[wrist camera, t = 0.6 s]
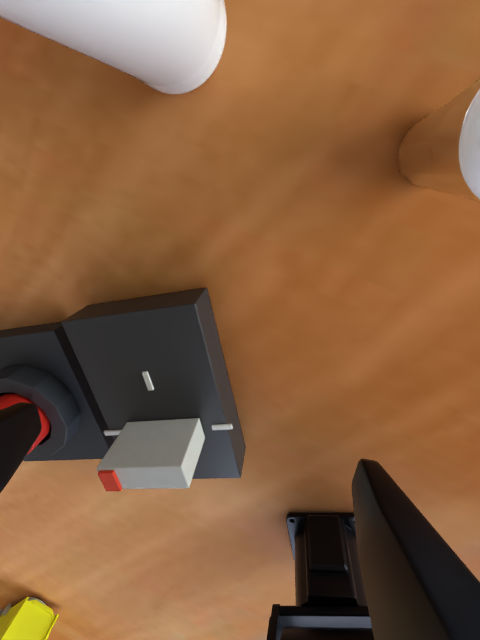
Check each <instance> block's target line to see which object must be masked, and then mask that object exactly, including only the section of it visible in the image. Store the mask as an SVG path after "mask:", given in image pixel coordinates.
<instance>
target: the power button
mask: <svg viewBox="0 0 480 640" xmlns="http://www.w3.org/2000/svg"><path fill="white" fill-rule="evenodd" d="M19 402H26V403H32V404H35V403H34V402H32V401H31V400H30V399H29V398H26V397H24V396H21V395H18V394H13V393H11V394H4V395H2V396H0V410H1V409H4V408H6V407H9V406H11V405H14V404H16V403H19ZM35 405H36V404H35ZM36 406H37V405H36ZM37 408H38V411H39V416H40V420H41V424H42V429H41V432H40V435H39V436H38V438H37V439H36V441H35V442H34V444H33V445H32V447H31V449H30V450H29V452H28V453H27V454H29V453H30V452H31V451H32V450H33V449H34V448H35V447H36V446H37V445H38V444H39V443H40V442H41V441H42V440H43V439H44V438H45V436H46V435H47V434H48V433H49V430H50V422H49V420H48V418H47V416H46V414H45V412H44V411H43V410H42V409H41V408H40V407H38V406H37Z"/></svg>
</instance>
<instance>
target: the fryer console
mask: <svg viewBox="0 0 480 640" xmlns="http://www.w3.org/2000/svg"><path fill="white" fill-rule="evenodd" d="M61 323H62V325H63V327H64V330H65V332H66V334H67V336H68V339H69V341H70V343H71V345H72V348H73V350H74V352H75V354H76V356H77V359H78V361H79V363H80V365H81V368H82V370H83V372H84V374H85V376H86V379H87V381H88V383H89V385H90V388H91V390H92V392H93V394H94V397H95V399H96V401H97V403H98V405H99V408H100V410H101V412H102V414H103V417H104V419H105V421H106V423H107V425H108V428H109V430H105V431H104V434H105V436H108V435H112V437H113V439H114V441H115V440H116V438H117V437H118V435H119V434H120V432H121V431H122V429H123V428H124V426H125V425H126V423H127V422H140V421H157V420H174V419H191V418H199V419H200V422H201V426H202V429H203V432H204V435H205V440H204V443H203V446H202V449H201V452H200V455H199V459H198V462H197V465H196V468H195V471H194V474H193V477H192V479H206V478H241V473H242V467H243V461H244V454H245V448H246V447H245V443H244V438H243V434H242V430H241V426H240V422H239V418H238V414H237V410H236V405H235V401H234V397H233V393H232V389H231V385H230V381H229V377H228V372H227V368H226V364H225V360H224V356H223V352H222V348H221V344H220V339H219V335H218V331H217V327H216V323H215V319H214V315H213V311H212V306H211V302H210V298H209V294H208V290H207V288H200V289H194V290H187V291H180V292H173V293H166V294H160V295H153V296H146V297H139V298H133V299H126V300H119V301H112V302H105V303H99V304H92V305H88V306H86V307H84V308H83V309H81V310H79V311H78V312H76V313H75V314H73V315H71V316H70V317H68V318H67V319H65V320H63V321H62V322H61Z"/></svg>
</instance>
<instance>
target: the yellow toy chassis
mask: <svg viewBox="0 0 480 640" xmlns="http://www.w3.org/2000/svg"><path fill="white" fill-rule="evenodd" d="M11 606H12V605H11V604H8V605H7V606H6V607H5V609H4V610H3V609H1V610H0V640H47V639H48V636H49V633H50V631H51V630H52V628H53V626H54V624H55V622H56V620H57V618H58V616H59V614H57V615H56V616H54V613H53V610H52V609H51V608H49V607H48V606H46V604H45V603H44V602H43V601H41V600H39V599H37V598H34V597H27V598H25V599H24V600H22V601H21V602H19V603H18V604H16V605H15V606H13V607H12V608H11Z"/></svg>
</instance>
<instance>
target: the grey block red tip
mask: <svg viewBox="0 0 480 640" xmlns="http://www.w3.org/2000/svg"><path fill="white" fill-rule="evenodd" d="M204 440H205V435H204V432H203V429H202V426H201V422H200V419H199V418H191V419H174V420H157V421H140V422H127V423H126V425H125V426H124V428H123V429H122V431H121V432H120V434H119V435H118V437H117V438H116V440H115V441H114V443H113V444H112V446H111V447H110V449H109V450H108V452H107V453H106V455H105V456H104V458H103V459H102V461H101V462H100V464H99V465H98V467H97V471H98V476H99V478H100V480H101V482H102V484H103V486H104V488H105V490H106V491H121V489H149V488H189V487H190V483H191V480H192V477H193V474H194V471H195V468H196V465H197V462H198V459H199V455H200V452H201V449H202V446H203V443H204Z"/></svg>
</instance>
